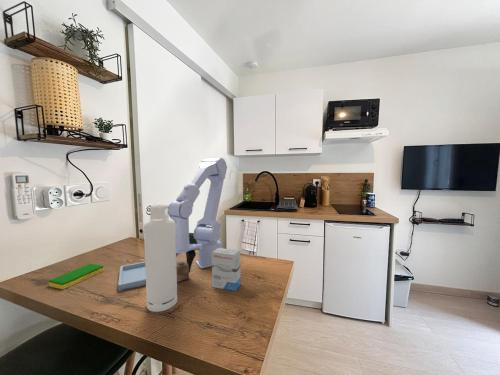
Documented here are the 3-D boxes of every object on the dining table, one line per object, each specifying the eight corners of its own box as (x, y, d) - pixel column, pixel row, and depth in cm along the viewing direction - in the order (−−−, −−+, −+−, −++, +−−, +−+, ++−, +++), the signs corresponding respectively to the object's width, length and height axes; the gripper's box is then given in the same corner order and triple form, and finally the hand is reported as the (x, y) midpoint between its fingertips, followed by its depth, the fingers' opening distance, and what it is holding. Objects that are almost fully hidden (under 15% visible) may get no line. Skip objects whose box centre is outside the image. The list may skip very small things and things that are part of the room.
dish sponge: (104, 271, 80) (104, 265, 80) (63, 290, 67) (62, 283, 67) (90, 269, 82) (90, 263, 82) (48, 287, 69) (48, 280, 69)
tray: (160, 263, 86) (160, 258, 86) (165, 280, 72) (165, 274, 72) (120, 271, 79) (120, 266, 79) (118, 291, 65) (118, 285, 65)
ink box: (241, 284, 70) (241, 249, 69) (235, 291, 65) (235, 255, 64) (218, 280, 72) (218, 246, 72) (211, 287, 68) (210, 252, 67)
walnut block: (186, 273, 76) (185, 260, 76) (188, 278, 72) (188, 264, 72) (174, 276, 74) (174, 262, 74) (177, 281, 70) (176, 267, 70)
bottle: (153, 295, 63) (150, 204, 62) (180, 293, 64) (178, 203, 62) (141, 312, 55) (137, 208, 54) (172, 310, 56) (169, 208, 54)
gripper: (159, 241, 65) (160, 283, 66) (204, 234, 72) (205, 272, 73) (156, 236, 71) (158, 274, 72) (198, 230, 78) (199, 265, 79)
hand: (181, 273), depth 73 cm, fingers closed on walnut block, 4 cm apart
